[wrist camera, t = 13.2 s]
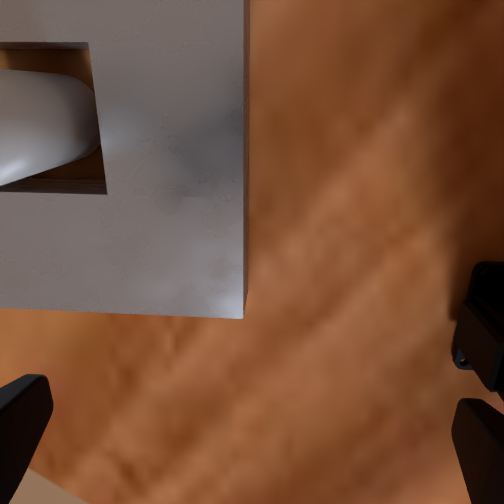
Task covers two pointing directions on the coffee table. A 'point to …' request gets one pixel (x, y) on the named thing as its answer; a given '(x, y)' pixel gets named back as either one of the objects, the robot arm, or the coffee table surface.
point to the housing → (140, 164)
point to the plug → (44, 122)
